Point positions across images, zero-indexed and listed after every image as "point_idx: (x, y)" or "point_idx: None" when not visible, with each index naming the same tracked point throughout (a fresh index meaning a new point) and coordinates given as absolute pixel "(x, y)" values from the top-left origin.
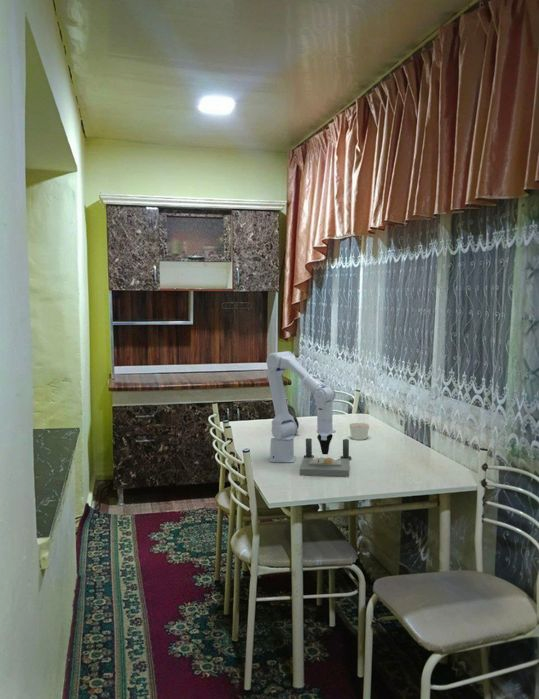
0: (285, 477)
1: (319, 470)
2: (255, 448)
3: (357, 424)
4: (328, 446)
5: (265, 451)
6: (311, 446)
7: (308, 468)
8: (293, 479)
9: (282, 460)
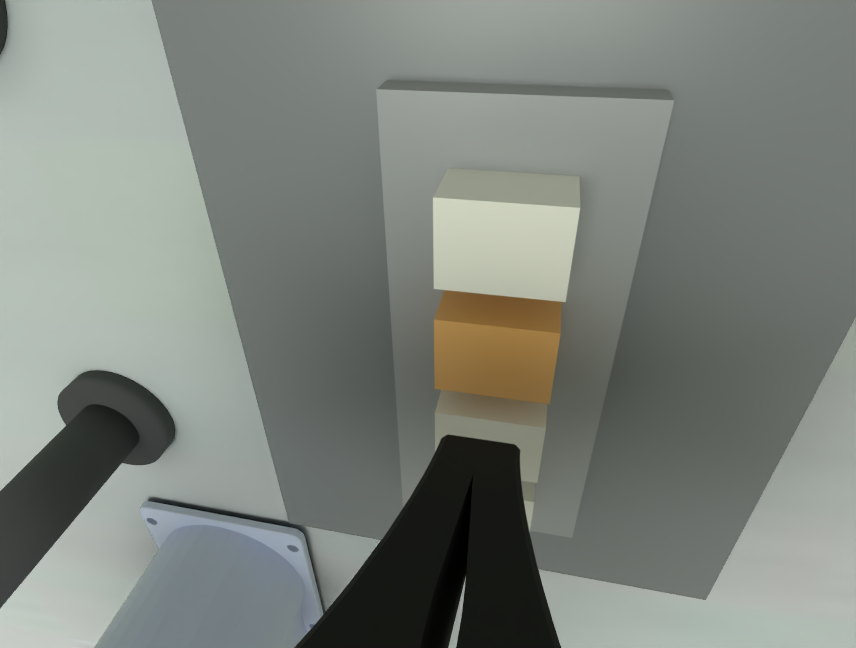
0: (729, 618)
1: (787, 429)
2: (83, 639)
3: None
4: (549, 632)
5: (111, 614)
6: (19, 499)
7: (706, 537)
8: (814, 584)
9: (304, 595)
